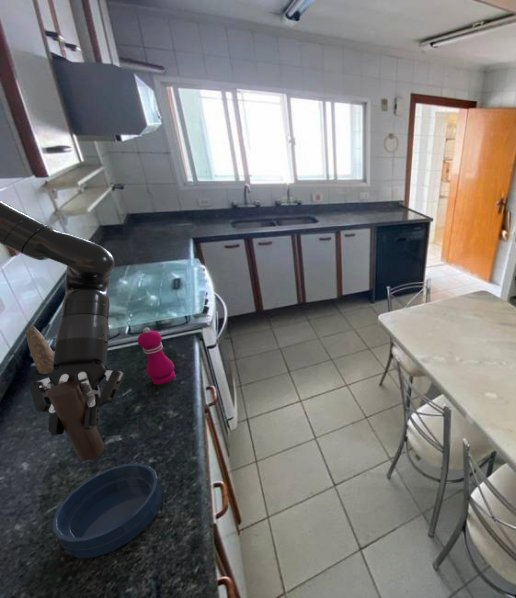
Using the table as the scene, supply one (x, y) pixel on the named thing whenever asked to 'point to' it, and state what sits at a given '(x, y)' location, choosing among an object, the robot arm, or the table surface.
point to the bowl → (108, 510)
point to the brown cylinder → (75, 419)
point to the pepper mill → (156, 357)
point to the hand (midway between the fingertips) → (73, 431)
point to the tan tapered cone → (40, 351)
